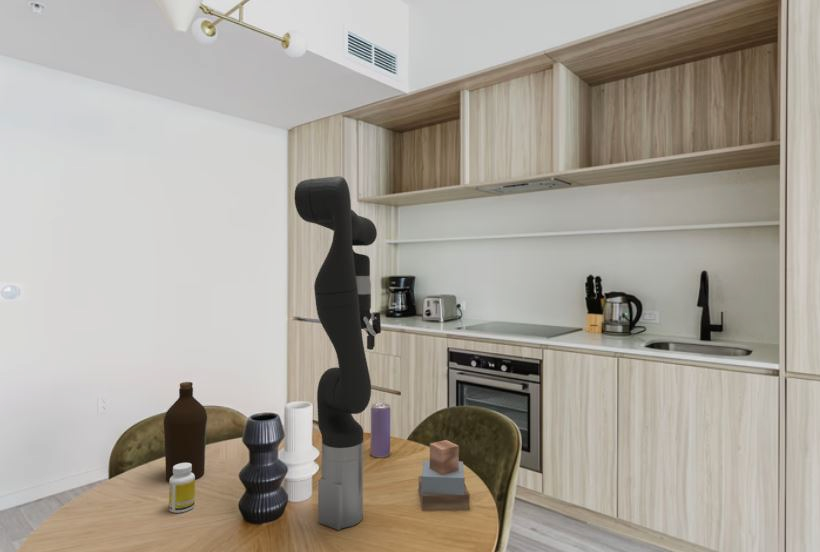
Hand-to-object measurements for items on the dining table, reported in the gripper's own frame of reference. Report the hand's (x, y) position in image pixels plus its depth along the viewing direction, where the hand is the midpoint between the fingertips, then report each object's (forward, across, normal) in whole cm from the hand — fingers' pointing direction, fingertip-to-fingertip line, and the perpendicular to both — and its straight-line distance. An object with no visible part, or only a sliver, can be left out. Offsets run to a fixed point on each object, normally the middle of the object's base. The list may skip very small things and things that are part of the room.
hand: (357, 350), depth 134 cm
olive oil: (+33, -38, +26) cm, 57 cm away
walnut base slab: (+34, +7, -27) cm, 44 cm away
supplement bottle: (+33, -44, +7) cm, 55 cm away
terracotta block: (+26, +7, -28) cm, 39 cm away
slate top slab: (+30, +7, -27) cm, 41 cm away
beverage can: (+34, +12, +6) cm, 37 cm away
